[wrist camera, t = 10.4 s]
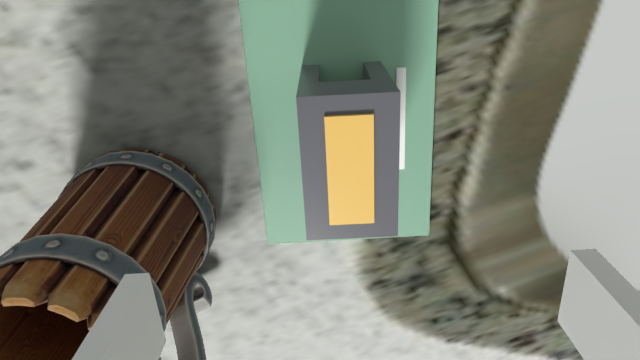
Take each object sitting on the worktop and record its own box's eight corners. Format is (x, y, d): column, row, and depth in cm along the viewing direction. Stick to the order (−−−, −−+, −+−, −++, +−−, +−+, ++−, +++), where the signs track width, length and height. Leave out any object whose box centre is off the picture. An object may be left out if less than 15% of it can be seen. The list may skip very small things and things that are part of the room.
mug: (43, 185, 34) (-142, 332, 20) (162, 117, 32) (45, 229, 18) (172, 333, 40) (95, 525, 26) (280, 283, 38) (258, 463, 24)
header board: (268, 239, 36) (262, 275, 32) (237, -17, 28) (223, -14, 24) (427, 231, 36) (441, 266, 31) (437, -30, 28) (458, -30, 24)
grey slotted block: (309, 180, 33) (306, 242, 26) (301, 65, 30) (295, 98, 22) (380, 177, 33) (398, 238, 26) (380, 61, 30) (401, 92, 22)
